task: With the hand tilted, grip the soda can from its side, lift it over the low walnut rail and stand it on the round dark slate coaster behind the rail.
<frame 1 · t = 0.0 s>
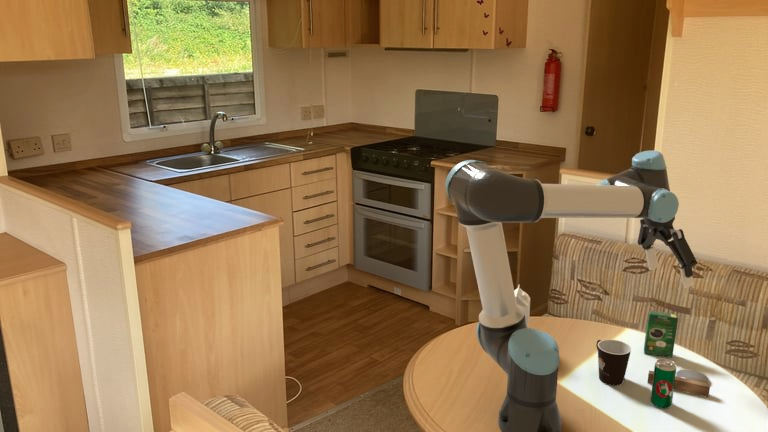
hand: (670, 277, 174), 28 cm above the table, tool tilted 20°, fingers open, 13 cm apart
rail: (677, 388, 172), on the table
coffee box: (658, 354, 190), on the table
coffee mug: (610, 377, 178), on the table
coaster: (692, 379, 176), on the table
milk carton: (515, 346, 196), on the table
soda can: (660, 404, 165), on the table
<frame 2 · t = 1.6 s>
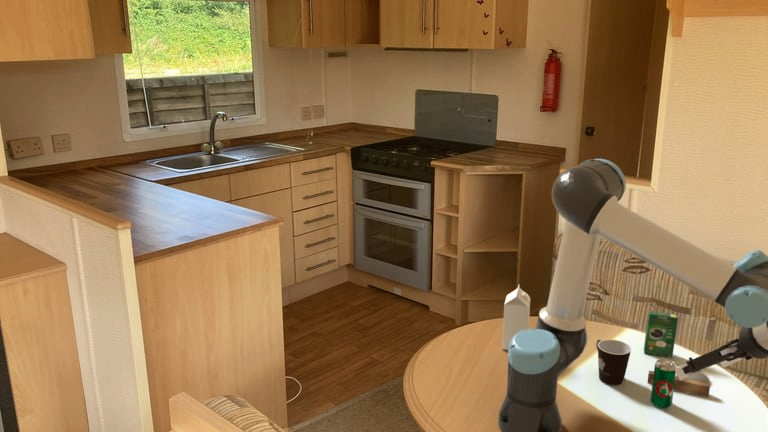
hand: (699, 368, 152), 15 cm above the table, tool tilted 45°, fingers open, 13 cm apart
nothing on the table moved.
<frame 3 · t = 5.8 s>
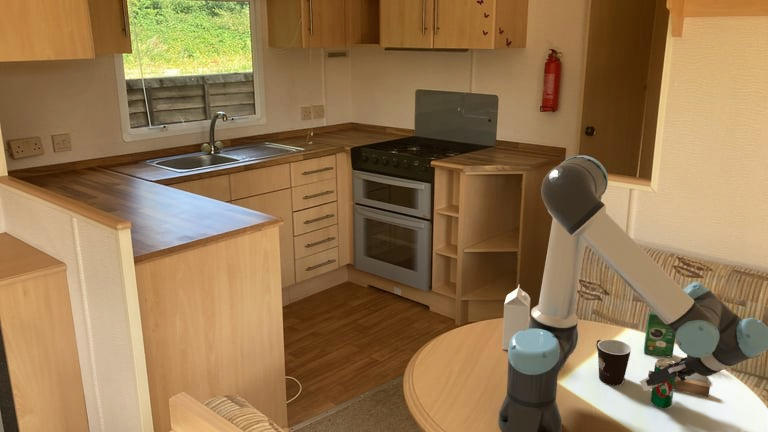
hand: (651, 383, 167), 4 cm above the table, tool tilted 45°, fingers closed on soda can, 5 cm apart
soda can: (660, 404, 165), on the table, touching gripper
everything else where it was.
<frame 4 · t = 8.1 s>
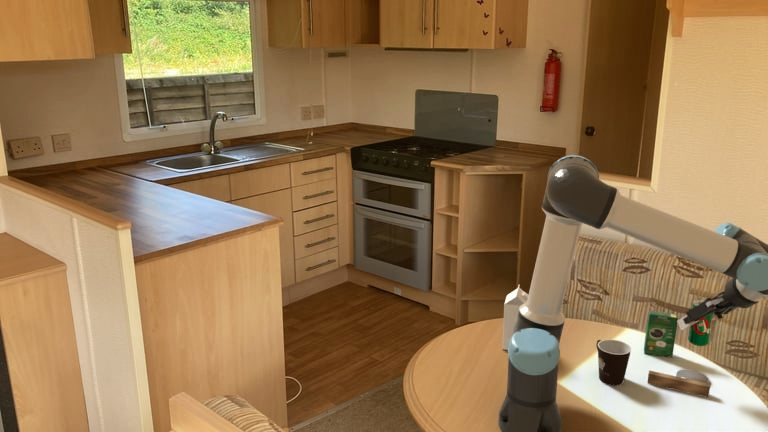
hand: (688, 323, 171), 17 cm above the table, tool tilted 45°, fingers closed on soda can, 5 cm apart
soda can: (698, 343, 169), point 13 cm above the table, touching gripper
everything else where it was.
when the fingers open (6 cm above the table, at t = 10.6 s): soda can drops 2 cm, resting on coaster.
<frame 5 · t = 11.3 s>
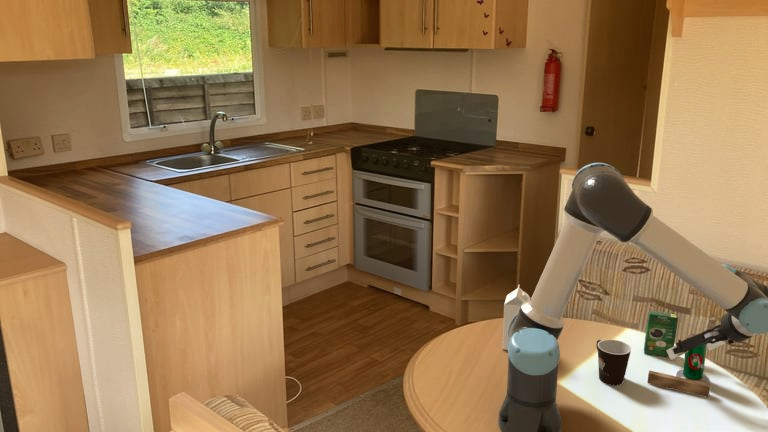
hand: (688, 350, 176), 8 cm above the table, tool tilted 45°, fingers open, 13 cm apart
soda can: (692, 377, 176), point 1 cm above the table, touching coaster
everything else where it was.
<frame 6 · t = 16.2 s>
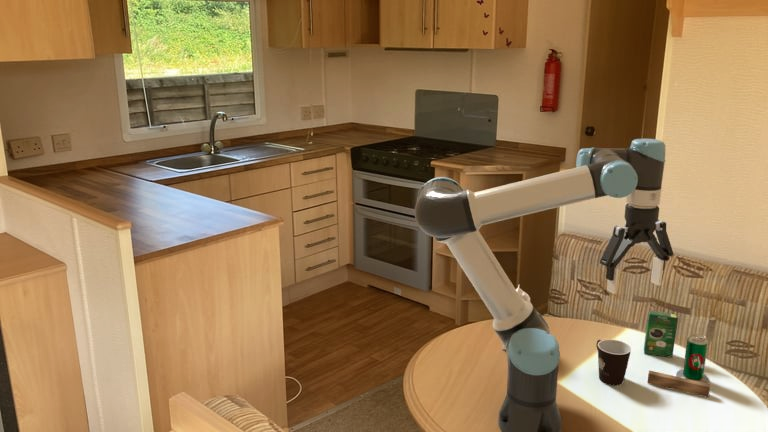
hand: (633, 287, 157), 32 cm above the table, tool pointing down, fingers open, 13 cm apart
nothing on the table moved.
at the end: soda can 0.1 cm from the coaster (horizontally); soda can tilted 0°; soda can touching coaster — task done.
